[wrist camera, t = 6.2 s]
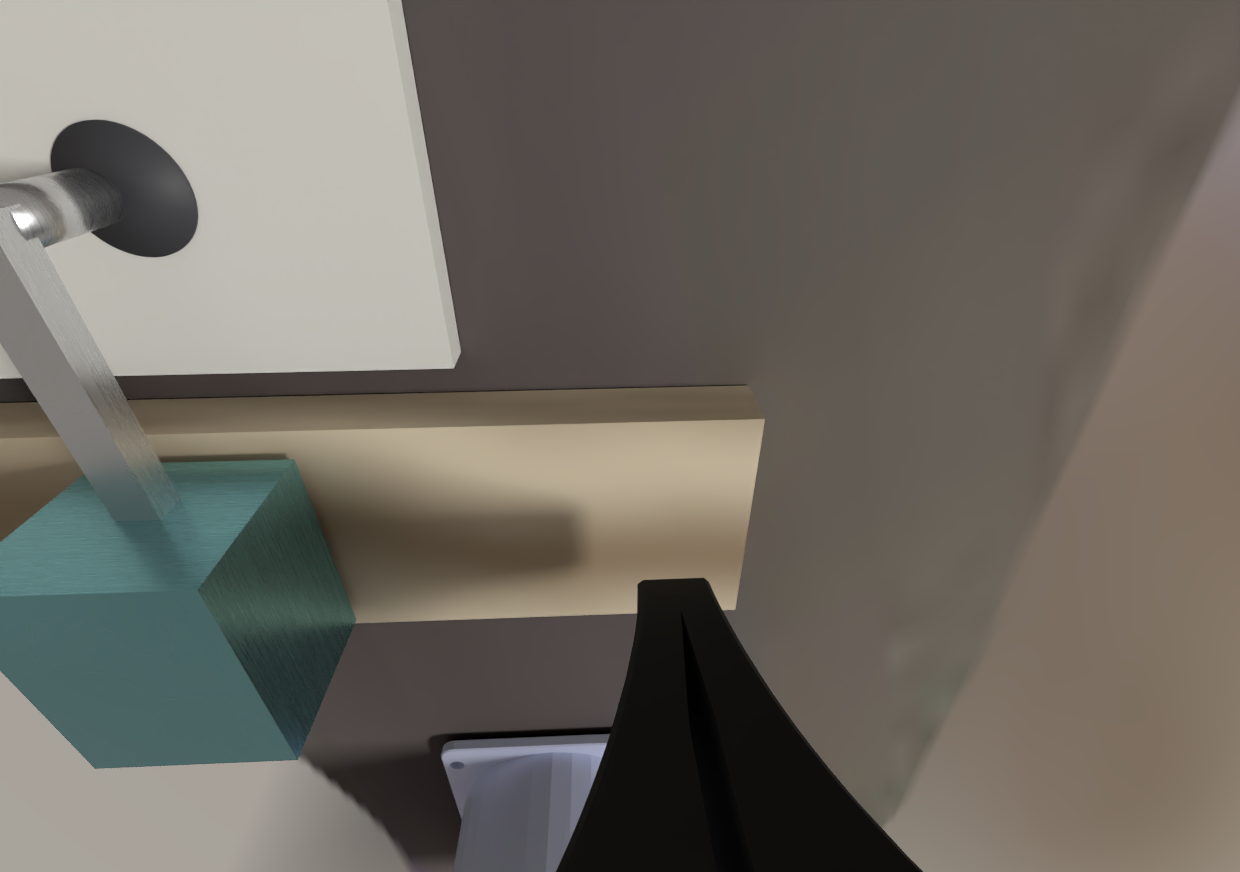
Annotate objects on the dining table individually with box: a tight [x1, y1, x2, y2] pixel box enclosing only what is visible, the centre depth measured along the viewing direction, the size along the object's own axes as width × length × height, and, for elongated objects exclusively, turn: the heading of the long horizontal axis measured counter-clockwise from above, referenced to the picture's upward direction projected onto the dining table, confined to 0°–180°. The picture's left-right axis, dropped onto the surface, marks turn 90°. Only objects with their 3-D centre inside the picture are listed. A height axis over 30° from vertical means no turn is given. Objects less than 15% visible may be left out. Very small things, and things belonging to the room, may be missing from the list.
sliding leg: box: [0, 167, 356, 769], centre depth 10 cm, size 10×4×4 cm, turn 0°
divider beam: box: [0, 385, 765, 623], centre depth 11 cm, size 11×24×5 cm, turn 90°
